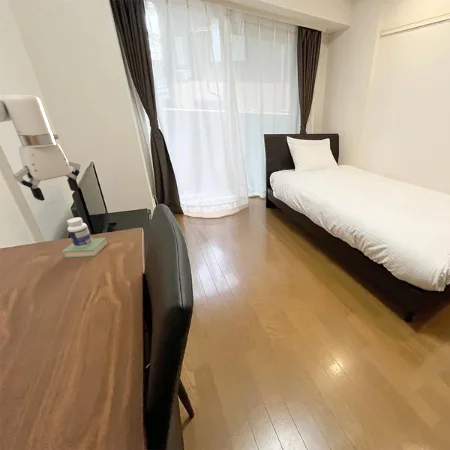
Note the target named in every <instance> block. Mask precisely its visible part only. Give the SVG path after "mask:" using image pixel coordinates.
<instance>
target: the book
mask: <svg viewBox="0 0 450 450" xmlns="http://www.w3.org/2000/svg"><path fill="white" fill-rule="evenodd" d="M91 238H92V240H93V243H92V244H91V245H89V246H86V247H82V248H77V247H75V246H74V244H73V242H72V243H70V244H69V245H67V247H65V248H64V249H63V250H62V251H61V253H63V255H64V256H63V258H64V259H67V258H68V259H69V258H89V257H96V256H97V255H98V254H99V253H100V252H101V251H103V250H104V248H106V247H107V246H108V245H109V242H108V241H107V237H91Z"/></svg>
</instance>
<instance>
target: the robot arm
mask: <svg viewBox="0 0 450 450" xmlns="http://www.w3.org/2000/svg"><path fill="white" fill-rule="evenodd" d="M10 121H11V123H12V124H13V127H14V129H15V132H16V134H17V137H18V139H19V141H20V144H21V146H18V152H19V153H18V154H19V157H20V162H21V166H22V168H21V169H20V170H19V171H17V172H16V173H15V174H13V175H12V178H13V179H14V180H15V181H17V182H18V183H19V184H21V185H23V186H25V187H26V188H29V189H30V190H31V193H32V196H33V198H34V199H36V200H37V201H45V200H46V199H45V196H44V194H43V191H42V189H41V188H40V187H39V185H40V182H41V181H47V180H53V179H57V178H61V177H66V179H67V180H66V181H67V184H68V186H69V189H70V191H72V192H79V183H78V182H77V179H78V176H79V175H80V170H81V164H80V163H77V162H76V163H75V162H72V161H70V160H69V161H68V159H67V157H66V155H65V152H64V150H63V149H62V148H61V146H60V144H59V143H57V142H56V140H59V135H58V134H54V133H53V132H52V129H51V126H50V124H49V120H48V118H47V116H46V113H45V109H44V107H43V103H42V101H41V99H40V98H39V97H38V96H36V95H34V94H24V93H23V94H21V93H13V94H12V93H11V94H2V93H0V123H3V122H10ZM71 167H72V168H73V170H71V169H72V168H71ZM25 176H26V178H27V179H29V180H28V181H27V180H25V179H24V177H25Z"/></svg>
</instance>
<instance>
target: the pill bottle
mask: <svg viewBox="0 0 450 450" xmlns="http://www.w3.org/2000/svg"><path fill="white" fill-rule="evenodd" d="M66 223H67V225H68V226H67V232H68V234H69V237H70V239H71V241H72V243H73V244H74V246H75V247H77V248H82V247H86V246H89V245H91V244H92V243H93V240H92V238H93V237H92V235H91V232H90V230H89V228H88V225H87V224H86V223H85V222H84V221H83V218H82V217H80V216H79V217H78V216H77V217H72V218H69V219H67V220H66Z"/></svg>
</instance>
